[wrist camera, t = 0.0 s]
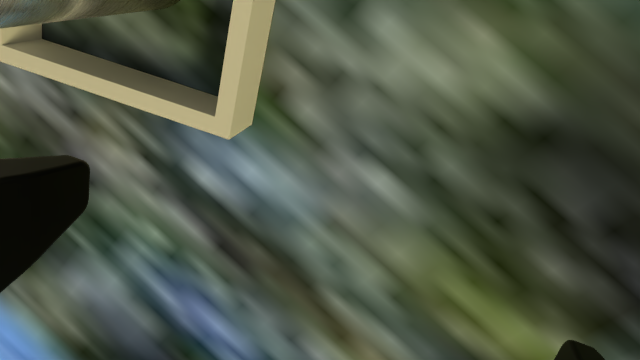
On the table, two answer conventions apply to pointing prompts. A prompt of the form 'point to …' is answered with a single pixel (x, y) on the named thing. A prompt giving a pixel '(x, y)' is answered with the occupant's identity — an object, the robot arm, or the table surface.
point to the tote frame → (154, 92)
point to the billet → (70, 10)
